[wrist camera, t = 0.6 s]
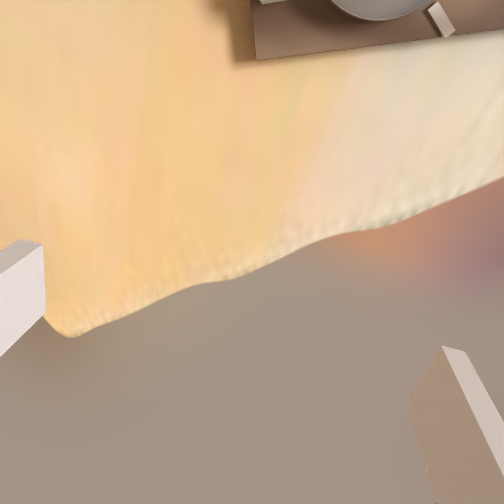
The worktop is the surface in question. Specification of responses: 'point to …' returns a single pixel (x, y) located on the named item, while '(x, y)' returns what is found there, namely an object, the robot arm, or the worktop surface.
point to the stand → (361, 25)
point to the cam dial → (377, 8)
